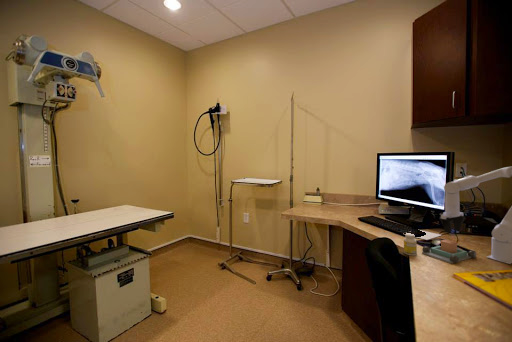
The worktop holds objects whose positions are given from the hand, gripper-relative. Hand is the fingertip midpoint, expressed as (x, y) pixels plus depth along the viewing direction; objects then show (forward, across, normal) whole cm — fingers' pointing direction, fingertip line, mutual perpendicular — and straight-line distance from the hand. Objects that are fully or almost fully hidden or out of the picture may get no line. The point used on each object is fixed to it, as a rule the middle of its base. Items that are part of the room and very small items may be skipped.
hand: (452, 231), depth 123 cm
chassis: (+9, +10, +4) cm, 14 cm away
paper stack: (+10, -6, -17) cm, 21 cm away
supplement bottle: (+10, +24, -5) cm, 26 cm away
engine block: (+9, +10, +4) cm, 14 cm away
